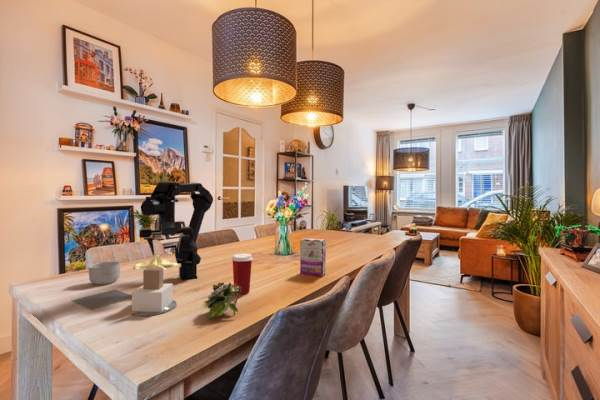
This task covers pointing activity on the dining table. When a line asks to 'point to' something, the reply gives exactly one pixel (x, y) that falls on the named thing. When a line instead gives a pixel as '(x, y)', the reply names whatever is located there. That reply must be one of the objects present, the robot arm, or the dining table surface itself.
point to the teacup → (104, 272)
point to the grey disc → (167, 309)
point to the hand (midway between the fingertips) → (166, 254)
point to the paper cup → (242, 272)
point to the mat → (102, 299)
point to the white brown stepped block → (152, 292)
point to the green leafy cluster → (221, 299)
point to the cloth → (156, 264)
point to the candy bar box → (313, 256)
